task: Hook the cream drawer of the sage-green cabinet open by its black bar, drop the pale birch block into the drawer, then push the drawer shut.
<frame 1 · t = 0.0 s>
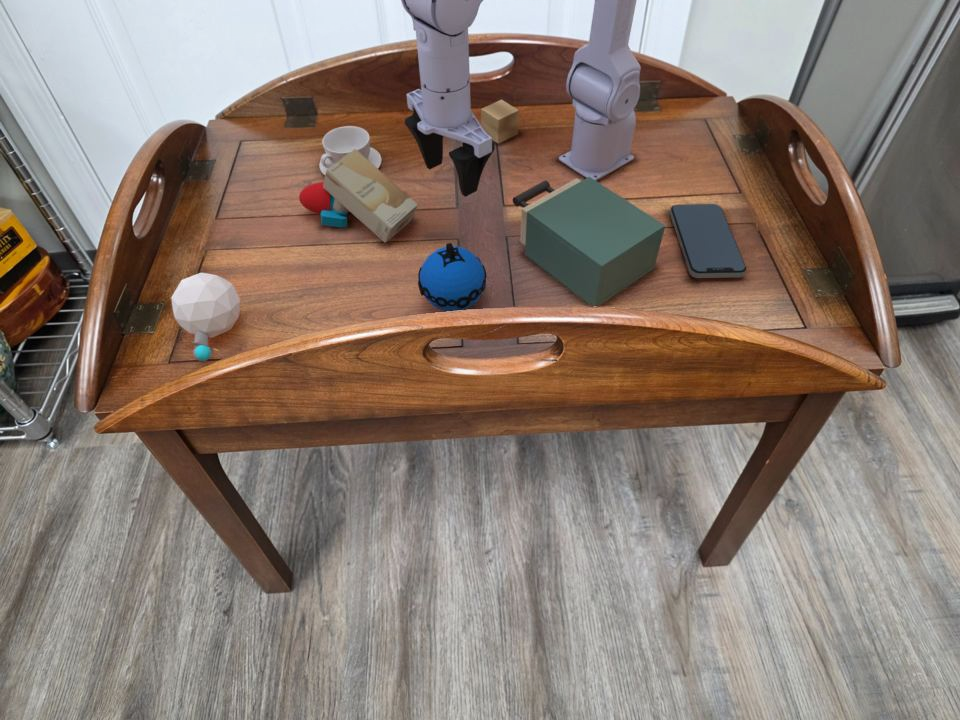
hand: (451, 178, 85), 10 cm above the table, tool pointing down, fingers open, 7 cm apart
ornament: (454, 303, 86), on the table
cosmetic box: (404, 225, 92), point 2 cm above the table, touching toy figure
toy figure: (353, 212, 98), on the table, touching cosmetic box
smartphone: (704, 244, 92), on the table
block: (499, 133, 110), on the table
cabinet: (588, 261, 90), on the table
teacup: (351, 165, 105), on the table
perfume bottle: (215, 337, 83), on the table
drawer: (568, 224, 89), point 4 cm above the table, slide at 0.5 cm
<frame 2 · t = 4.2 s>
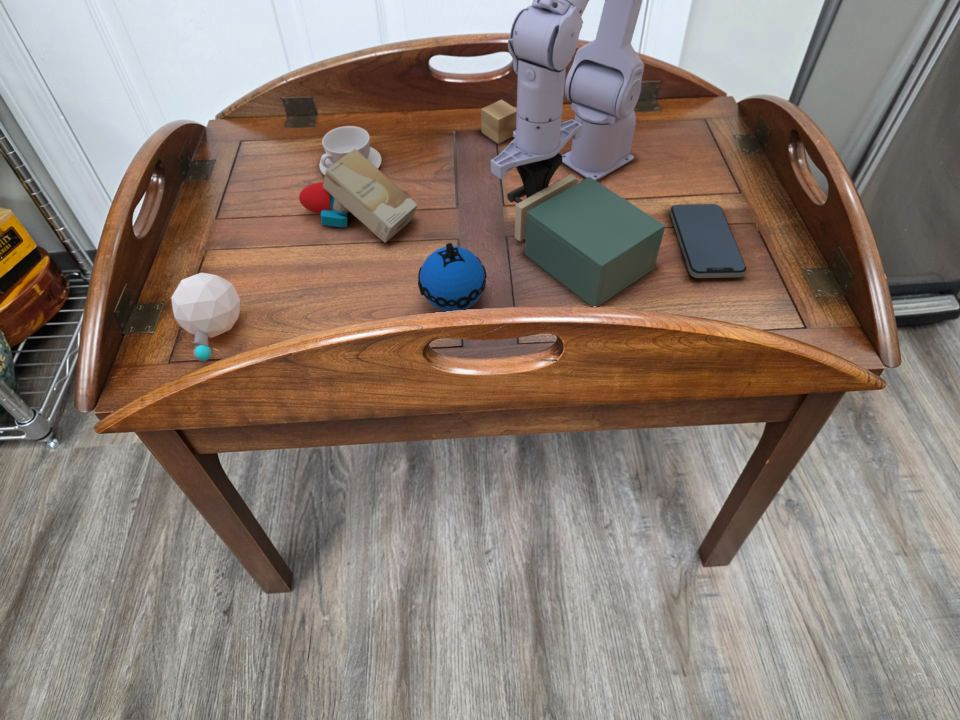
hand: (534, 199, 92), 4 cm above the table, tool pointing down, fingers closed, pressing on drawer
drawer: (562, 220, 89), point 4 cm above the table, slide at 1.7 cm, touching gripper
everything else where it was.
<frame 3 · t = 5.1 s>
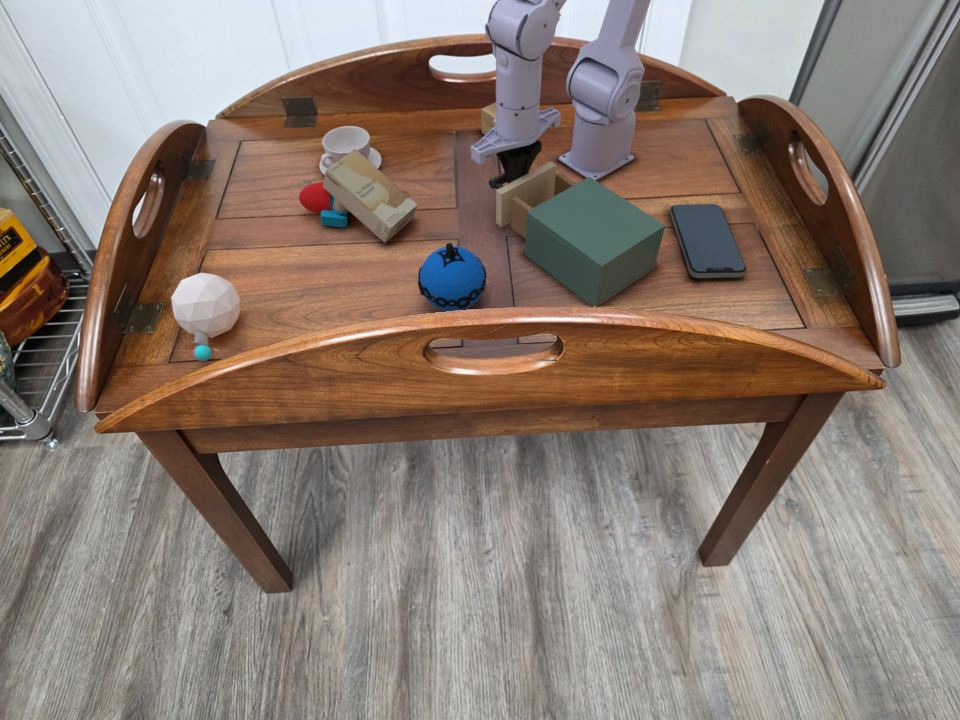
hand: (515, 185, 94), 4 cm above the table, tool pointing down, fingers closed, pressing on drawer
drawer: (542, 205, 91), point 4 cm above the table, slide at 5.8 cm, touching gripper
everything else where it was.
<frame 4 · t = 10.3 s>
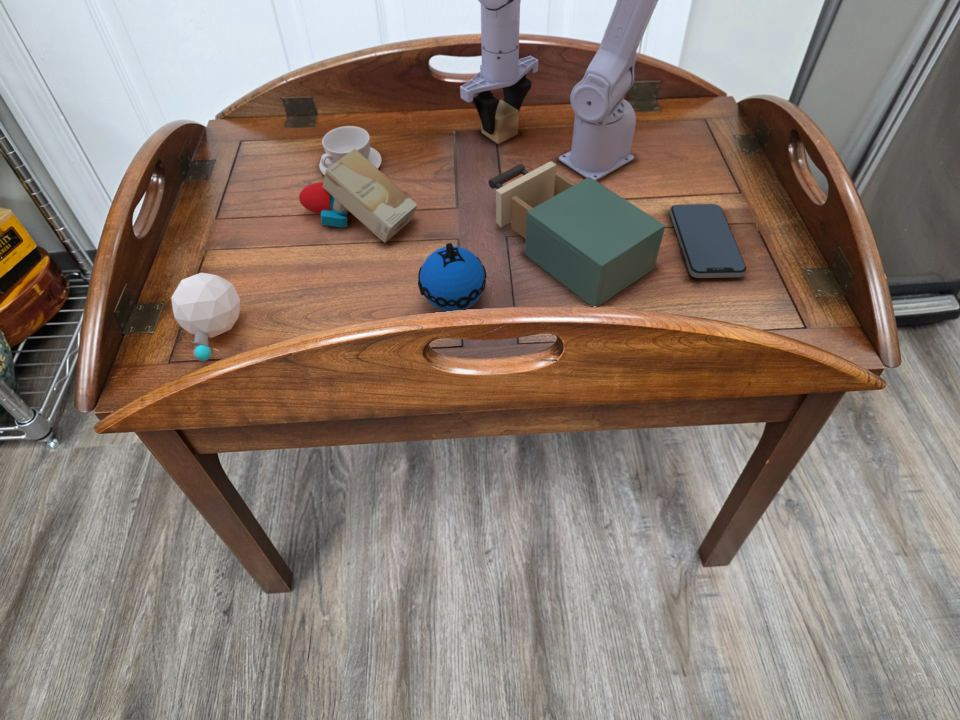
hand: (499, 126, 108), 1 cm above the table, tool pointing down, fingers closed on block, 4 cm apart
block: (499, 133, 110), on the table, touching gripper
drawer: (542, 205, 91), point 4 cm above the table, slide at 5.8 cm
everything else where it was.
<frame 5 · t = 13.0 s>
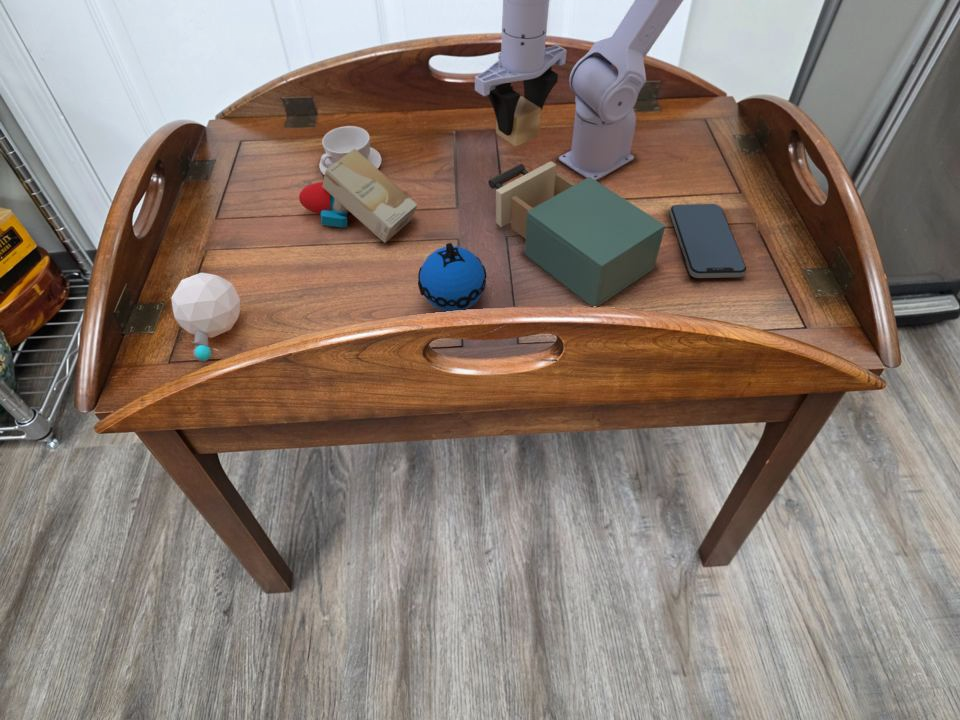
hand: (518, 126, 93), 10 cm above the table, tool pointing down, fingers closed on block, 4 cm apart
block: (517, 134, 94), point 9 cm above the table, touching gripper
everything else where it was.
when the fingers open (6 cm above the table, at t = 15.9 s): block drops 2 cm, resting on drawer.
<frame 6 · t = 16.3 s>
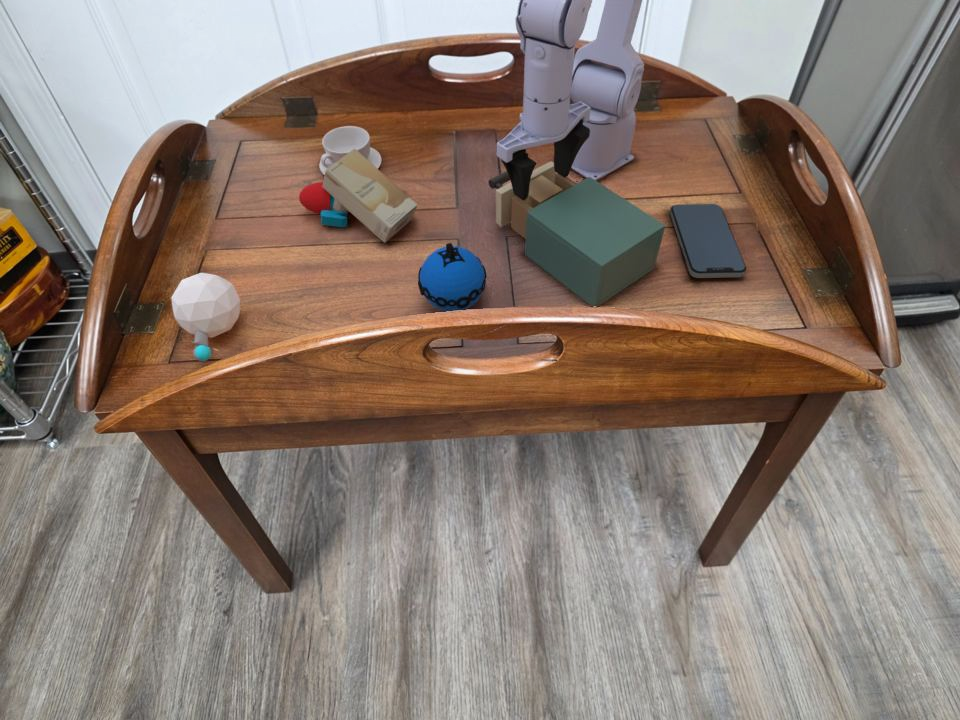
hand: (541, 184, 89), 7 cm above the table, tool pointing down, fingers open, 7 cm apart
block: (539, 213, 93), point 2 cm above the table, touching drawer
drawer: (542, 205, 91), point 4 cm above the table, slide at 5.8 cm, touching block
everything else where it was.
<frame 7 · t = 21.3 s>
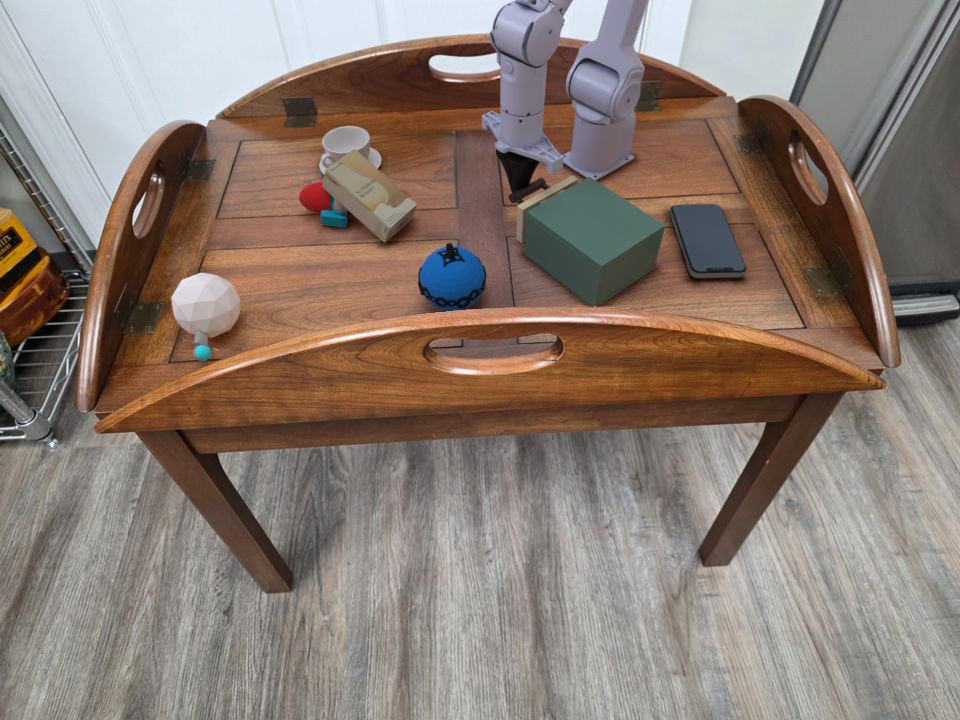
hand: (519, 191, 94), 3 cm above the table, tool pointing down, fingers closed
block: (560, 228, 91), point 2 cm above the table, touching drawer
drawer: (564, 221, 89), point 4 cm above the table, slide at 1.4 cm, touching block, gripper
everything else where it was.
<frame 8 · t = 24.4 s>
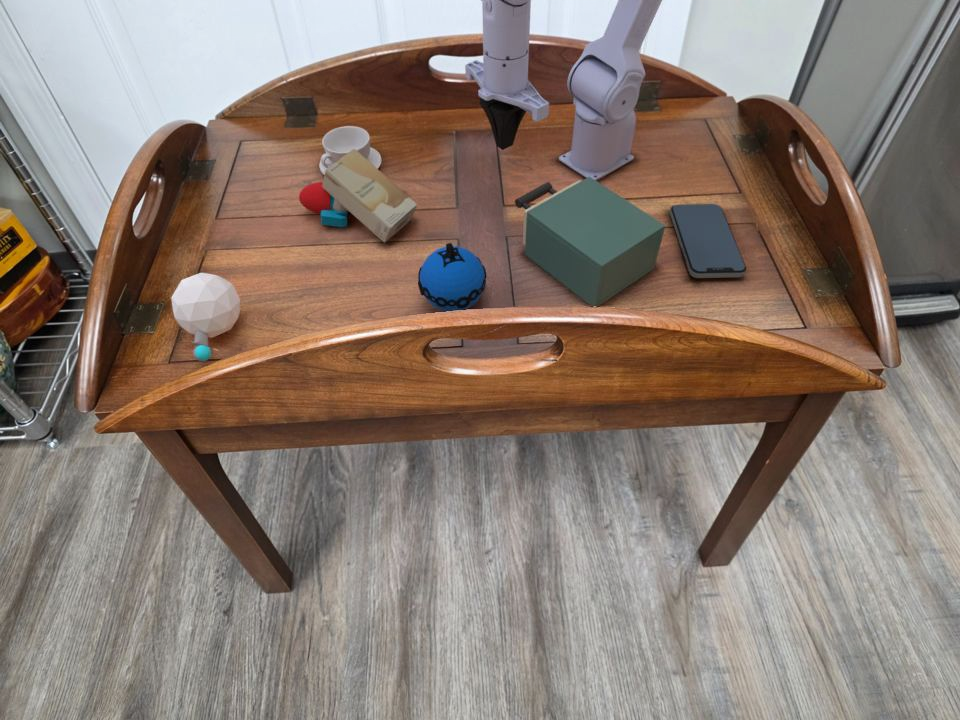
hand: (504, 145, 91), 9 cm above the table, tool pointing down, fingers closed
block: (567, 233, 90), point 2 cm above the table, touching drawer
drawer: (571, 226, 89), point 4 cm above the table, slide at 0.0 cm, touching block, cabinet
everything else where it was.
at the end: drawer pulled out 5.8 cm at the most during the clip, back to where it started at the end; block inside the target area in the cabinet (4.6 cm from its centre), point 2.0 cm above the cabinet's base; drawer slide at 0.0 cm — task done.
